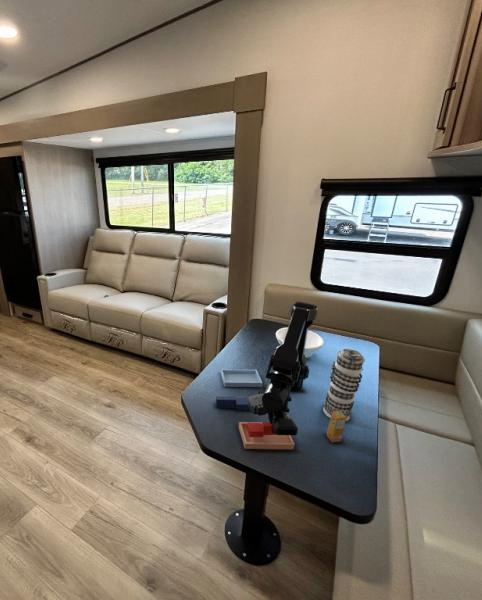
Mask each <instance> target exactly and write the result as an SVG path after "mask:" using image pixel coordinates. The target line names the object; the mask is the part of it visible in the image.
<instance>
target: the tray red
mask: <svg viewBox="0 0 482 600" xmlns="http://www.w3.org/2000/svg"><path fill="white" fill-rule="evenodd" d="M247 423H261V425H262V422H260V421H259V422H258V421H257V422H255V421H251V422H250V421H249V422H247V421H239V422H238V430H239V433H240V437H241V440H242V444H243V447H244V449H245V450H252V449H253V450H295V442H294V440H293V438H292V435H263V437H249V434H248V431H247Z"/></svg>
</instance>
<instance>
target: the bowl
mask: <svg viewBox="0 0 482 600" xmlns="http://www.w3.org/2000/svg"><path fill="white" fill-rule="evenodd" d="M287 330H288V327H282V328H279V329H278V330H276V332H275V337H276V339H277V343H278V344H279V346H280V345H282V344H283V341H284V339H285V336H286V333H287ZM324 344H325V342H324V339H323V337H322V336H320V335H319V334H317V333H316V332H314V331H311V330H309V329H308V332H307V338H306V344H305V350H304V355H305V357H306V358H307V359H309V358H311V357H312V356H313V354H314V353H316V352H317V351H319V350H320V349H321V348H322V346H323V345H324Z"/></svg>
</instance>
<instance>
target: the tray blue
mask: <svg viewBox="0 0 482 600" xmlns="http://www.w3.org/2000/svg"><path fill="white" fill-rule="evenodd" d="M220 378H221V380H222V383H223V387H224V388H263V381H262V378H261V375H260V374H259V372H258V369H227V368H226V369H225V368H223V369H220Z"/></svg>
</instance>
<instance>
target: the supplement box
mask: <svg viewBox="0 0 482 600" xmlns="http://www.w3.org/2000/svg"><path fill="white" fill-rule="evenodd" d="M329 418H330V417H329ZM346 422H347V421H346V416H344V415H343V413H342V412H341V411H334V412H332V414H331V418H330V419H329V423H328V427H327V432H326V437H327V438H328V439H329V441H330V443H340V442H342V437H343V433H344V429H345V425H346Z"/></svg>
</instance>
